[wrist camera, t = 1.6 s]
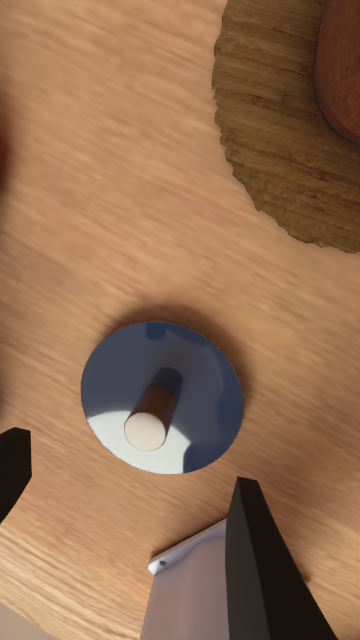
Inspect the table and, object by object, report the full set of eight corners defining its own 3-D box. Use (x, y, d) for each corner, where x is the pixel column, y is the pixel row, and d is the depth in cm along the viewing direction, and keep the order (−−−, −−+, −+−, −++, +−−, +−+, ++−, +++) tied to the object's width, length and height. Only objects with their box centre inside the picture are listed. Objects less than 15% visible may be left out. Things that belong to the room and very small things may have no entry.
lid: (155, 488, 21) (138, 543, 17) (58, 379, 21) (16, 410, 17) (277, 411, 19) (291, 456, 14) (169, 283, 18) (152, 291, 14)
